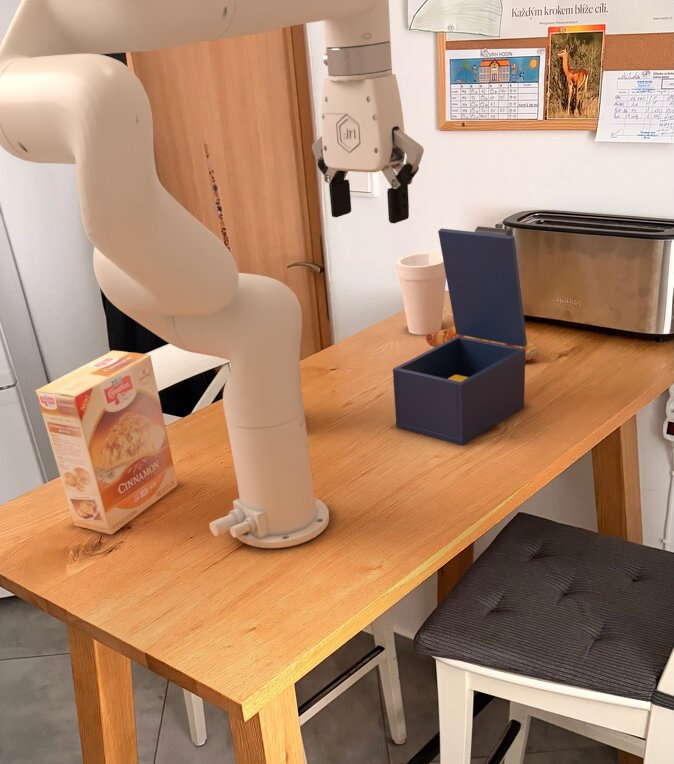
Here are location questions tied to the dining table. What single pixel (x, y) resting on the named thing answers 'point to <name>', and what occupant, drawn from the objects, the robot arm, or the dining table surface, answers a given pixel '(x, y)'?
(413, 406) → the cool box
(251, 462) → the robot arm
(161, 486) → the coffeecake box
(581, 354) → the dining table surface
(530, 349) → the croissant
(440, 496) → the dining table surface
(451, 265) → the lid
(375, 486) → the dining table surface
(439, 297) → the foam cup
